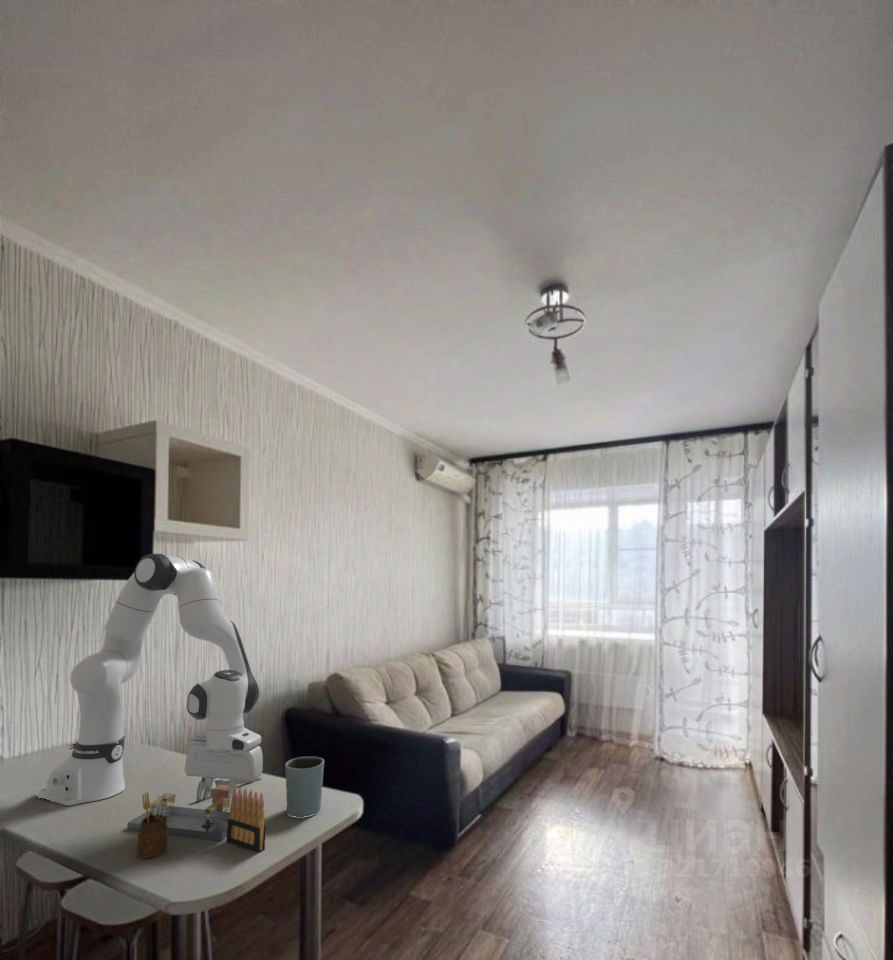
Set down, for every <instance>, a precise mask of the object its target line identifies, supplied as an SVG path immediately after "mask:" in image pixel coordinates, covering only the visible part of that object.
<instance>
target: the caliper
mask: <svg viewBox="0 0 893 960" xmlns="http://www.w3.org/2000/svg"><path fill="white" fill-rule="evenodd" d="M260 780H262V777H259V778H257V779H256V780H254V781H243V780H239V782H238V784H237V785H241V784H249V783H251V784H252V783H254V782H258V781H260ZM214 781H215V784H216V787H217V786H219V785H220V784H221V785H231V784H230V779H220V778H216V779H214ZM209 792H210V789H209V787H208V785H207V783H206V777H201V780H200V781H199V782H198V786H197V788H196V801H197V802H199V803H201V800H202V801H206V800H207V799H208V796H209Z"/></svg>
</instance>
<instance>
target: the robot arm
mask: <svg viewBox="0 0 893 960" xmlns="http://www.w3.org/2000/svg"><path fill="white" fill-rule="evenodd" d="M167 594H168V595H171V594H172V595H174V596H176V597H177V603H178V605H177V606H178V616H179V623H180V625H181V628H182V629H183V631H184V632H185V633H187V635H189V636H191V637H192V638H195V639H198V640H202V641H206V642H209V643H212V644H213V645H214V644H215V645H216V646H218V647H219V648H220V649H221V650H222V651H223V653H224V655H225V660H226V662H227V664H228V665H227V666H228V668H229V669H223V670H218V671H216V672H214V674H212V675H211V678H209V679H207V680H203V681H202V682H199V683H196V684H195V685H194V686H192V688H191V689H190V691H189V693H188V695H187V701H186V708H187V709H186V710H187V712H188V713H189V715H190V716H191V717H192V718H194V719H195V720H198V721H200V720H201V721H204V720H207V721H208V722H207V726H206V736H204V735H203V736H200V735H194V736H193V737H192V738H191V739H189V740H188V744H187V745H188V746H187V752H186V753H187V754H186V759H185V764H184V773H185V775H186V776H189V777H200V778H202V777H206V783H207V785H208V787H209V789H210V792H209V795H208V796H210V797H213V789H214V788H216V784H215V781H214V779H223V780H227V779H230V784H231V786H230V788H228V789H227V790H225V794H226V795H225V797H226V798H230V799H232V792H233V788H234V786H236V787H237V785H239V784H238V782H239V780H243V781H254V780H256V779H257V778H261V775H262V774H263V766H264V765H263V764H264V762H263V761H264V759H263V751H262V747H261V746H260V744H261V743H262V736H261V735H260V734H258V733H256V732H254V731H252V730H250V729H248V728H246V727H245V721H244V717H243V715H244V714H248V713H249V712H251V711H252V710H253V709H254V707H255V706H256V704H257V702H258V700H259V698H260V688H259V685H258V683H257V680H256V678H255V676H254V675H253V671H252V669H251V667H250V664H249V661H248V656H247V653H246V651H245V647H244V644H243V641H242V639H241V636H240V633H239V630H238V628H237V625H236V624H235V623H234V622H233V621H231V620H230V619H229V618H228V617H227V615H226V614H225V612H224V610H223V608H222V603H221V595H220V592H219V587H218V584H217V581H216V578H215V576H214V574H213V572H212V571H211V570H209V569H207V568H206V567H205V566H204V565H203V564H202V563H200V562H198V561H196V560H191V559H188V558H185V557H182V556H179V555H178V556H177V555H176V556H175V555H166V554H164V553H150V554H146V555H144V556H143V557H141V558H140V560H139V561H138V562H137V564H136V566H135V569H134V572H133V573H132V575H131V576H130V577H129V578H128V580H127V581H126V583H125V585H124V586H123V588H122V589H121V590H120V593H119V594H118V597H117V598H116V601H115V602H114V605H113V608H112V610H111V611H110V614H109V616H108V618H107V621H106V623H105V625H104V630H105V636H104V641H103V645H102V648H101V649H100V650H99V652H97V653H94V654H90V655H88V656H86V657H84V659H82V660H81V661H79V662H78V663H77V664H76V665H75V666H74V667H73V669H72V670H71V673H70V684H71V687H72V688H73V689H74V691H75V692H76V694H77V698H78V704H79V705H78V706H79V712H80V715H79V716H80V717H79V729H78V740H77V742H75V743H73V744H70V745H69V747H70V748H68V749H69V750H72V749H73V750H72V751H71V756H69V757H68V758H67V759H66V760H64V761H63V762H62V763H60V764H58V766H56V767H55V768H54V769H53V770H52V771H51V773H50V774H49V776H48V779H47V786H46V787H43V788H42V789H40V790H39V791H37V792H36V794H35V797H36V796H38V797H42V798H45V799H47V800H50V801H49V802H51V801H53V802H52V803H54V802H57V803H56V804H58V803H60V804H59V805H62V804H63V806H66V805H67V807H68V806H69V805H70V806H74V805H79V804H83V803H90V802H96V801H100V800H103V799H108V798H110V797H113V796H115V795H118V794H120V793H122V792H123V791H124V790H125V789H126V783H125V776H124V761H123V758H124V756H123V753H124V750H125V742H126V741H125V736H124V729H125V719H126V708H125V705H124V704H123V702H122V696H121V689H120V688H121V685H122V684H124V683H126V682H127V681H129V680H130V679H131V678H132V677H133V676H134V675H135V673H136V672H137V671H138V670H139V667H140V661H141V660H140V656H141V651H142V648H143V643H144V639H145V636H146V634H147V631H148V629H149V627H150V624H151V622H152V621H153V620H152V619H153V617H154V615H155V613H156V610H157V608H158V605H159V604H160V601H161V599H162V597H164V596H165V595H167ZM47 800H46V801H47ZM70 806H69V807H70Z"/></svg>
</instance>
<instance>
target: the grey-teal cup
mask: <svg viewBox="0 0 893 960" xmlns="http://www.w3.org/2000/svg"><path fill="white" fill-rule="evenodd" d="M284 767H285V768H284V769H285V788H286V814H287V813H288V814H289V815H291V816H296V817H304V816H309V815H312V814H315V813H317V812H318V811H319V810H320V811H321V806H322V805H321V804H322V796H323V795H322V793H323V789H322V788H323V783H324V768H325V759H324V758H322V757H318V756H314V755H313V756H299V757H295V758H292V759H289V760H288V761H286V762H285V765H284ZM320 811H319V812H320ZM288 814H287V815H288ZM317 814H318V813H317Z"/></svg>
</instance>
